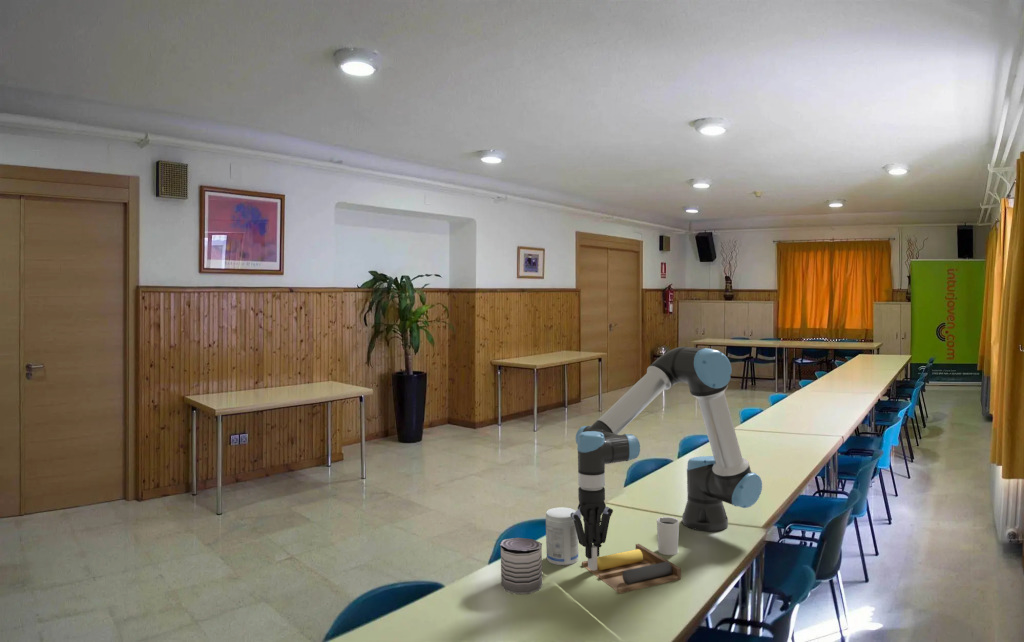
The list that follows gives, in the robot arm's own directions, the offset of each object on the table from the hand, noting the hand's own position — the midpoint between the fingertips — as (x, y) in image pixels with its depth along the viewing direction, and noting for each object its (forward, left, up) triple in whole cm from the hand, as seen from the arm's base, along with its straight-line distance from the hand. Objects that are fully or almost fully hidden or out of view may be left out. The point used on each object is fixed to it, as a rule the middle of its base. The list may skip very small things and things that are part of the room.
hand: (592, 568), depth 186 cm
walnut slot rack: (-9, +5, -1) cm, 11 cm away
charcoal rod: (-11, +11, -1) cm, 15 cm away
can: (+22, -2, -2) cm, 22 cm away
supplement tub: (+4, -12, -2) cm, 12 cm away
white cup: (-28, -3, -2) cm, 29 cm away
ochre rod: (-9, +1, 0) cm, 9 cm away
